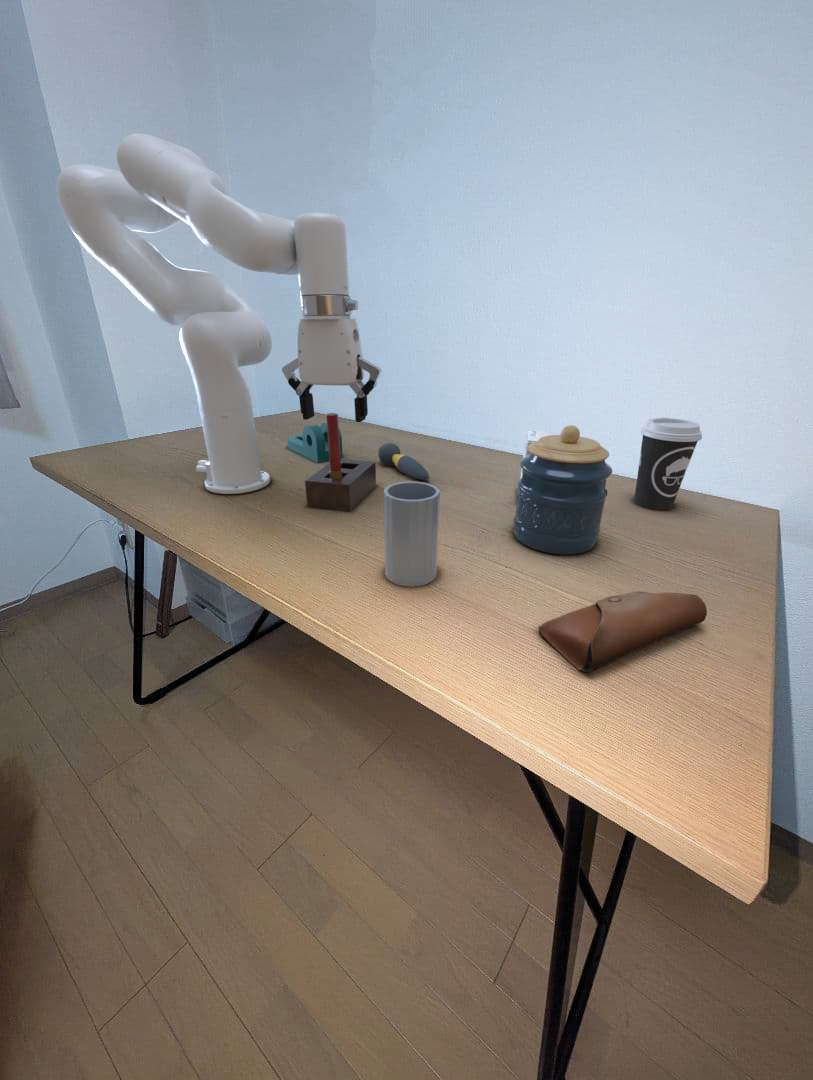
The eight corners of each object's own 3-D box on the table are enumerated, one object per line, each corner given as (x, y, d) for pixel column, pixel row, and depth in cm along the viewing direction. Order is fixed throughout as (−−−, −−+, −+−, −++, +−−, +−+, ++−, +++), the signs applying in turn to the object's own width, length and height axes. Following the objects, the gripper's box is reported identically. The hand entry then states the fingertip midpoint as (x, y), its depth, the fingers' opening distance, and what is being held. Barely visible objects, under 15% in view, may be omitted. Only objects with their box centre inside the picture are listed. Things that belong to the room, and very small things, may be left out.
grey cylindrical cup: (378, 582, 62) (376, 497, 57) (393, 558, 68) (393, 479, 63) (430, 590, 61) (433, 503, 55) (440, 564, 67) (444, 484, 61)
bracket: (342, 457, 113) (340, 424, 110) (317, 462, 109) (315, 428, 106) (307, 442, 126) (304, 412, 122) (283, 446, 122) (280, 415, 118)
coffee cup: (680, 499, 90) (702, 419, 83) (683, 517, 82) (708, 431, 75) (626, 491, 93) (643, 414, 87) (624, 508, 86) (642, 425, 79)
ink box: (545, 506, 86) (555, 442, 81) (517, 504, 87) (525, 440, 82) (544, 490, 94) (552, 431, 88) (518, 488, 95) (525, 429, 89)
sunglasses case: (640, 588, 60) (676, 560, 55) (676, 637, 57) (718, 613, 52) (531, 628, 53) (561, 600, 47) (566, 687, 49) (602, 665, 44)
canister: (526, 514, 83) (539, 413, 75) (604, 531, 77) (627, 422, 69) (500, 543, 73) (512, 429, 65) (587, 564, 67) (612, 441, 59)
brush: (328, 502, 87) (322, 415, 80) (334, 497, 90) (328, 412, 82) (341, 504, 87) (336, 416, 80) (346, 499, 89) (342, 413, 82)
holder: (307, 506, 86) (304, 480, 83) (337, 481, 98) (336, 458, 96) (350, 511, 84) (349, 485, 81) (376, 485, 96) (375, 461, 94)
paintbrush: (441, 479, 99) (442, 456, 97) (423, 484, 96) (423, 461, 94) (386, 458, 113) (386, 437, 111) (369, 462, 110) (368, 441, 108)
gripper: (385, 308, 75) (388, 417, 82) (287, 309, 79) (299, 413, 87) (370, 308, 68) (375, 426, 76) (264, 309, 73) (278, 421, 80)
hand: (334, 419), depth 81 cm, fingers open, 9 cm apart
